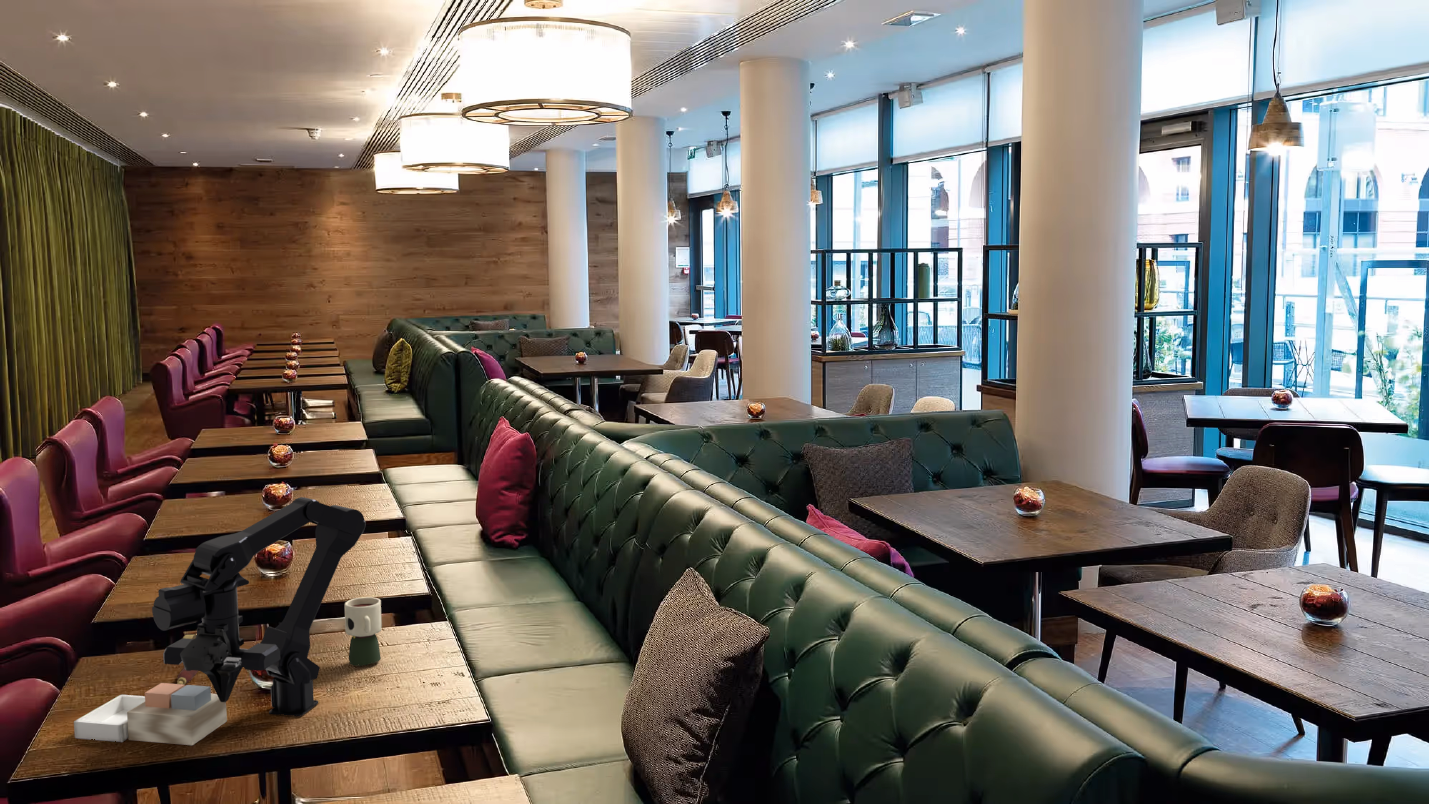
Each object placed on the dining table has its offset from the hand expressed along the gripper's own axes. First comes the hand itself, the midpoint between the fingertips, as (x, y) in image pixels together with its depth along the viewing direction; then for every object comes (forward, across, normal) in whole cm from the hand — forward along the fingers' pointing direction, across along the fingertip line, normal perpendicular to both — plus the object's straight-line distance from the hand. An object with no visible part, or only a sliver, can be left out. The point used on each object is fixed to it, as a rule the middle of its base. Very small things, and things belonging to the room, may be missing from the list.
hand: (224, 701), depth 192 cm
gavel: (+7, -24, +28) cm, 37 cm away
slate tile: (+1, -6, 0) cm, 6 cm away
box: (+6, -20, 0) cm, 21 cm away
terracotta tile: (+1, -11, 0) cm, 11 cm away
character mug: (+6, +8, +36) cm, 37 cm away
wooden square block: (+6, -9, 0) cm, 11 cm away
